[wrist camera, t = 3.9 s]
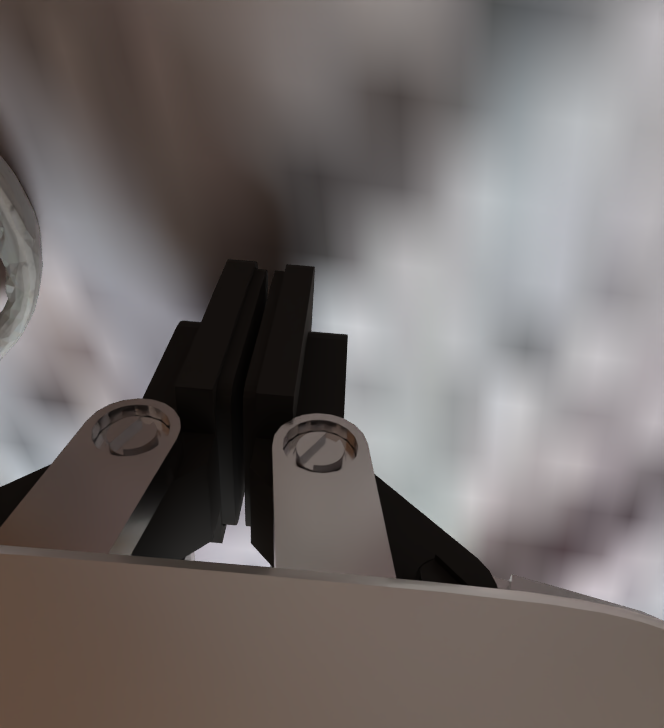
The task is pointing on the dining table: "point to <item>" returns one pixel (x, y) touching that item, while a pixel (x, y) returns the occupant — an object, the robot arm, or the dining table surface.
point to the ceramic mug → (17, 258)
